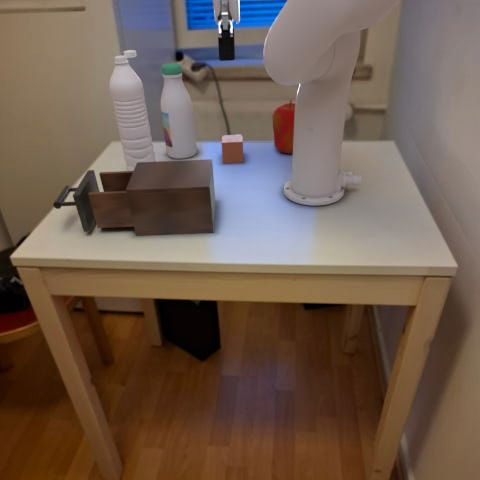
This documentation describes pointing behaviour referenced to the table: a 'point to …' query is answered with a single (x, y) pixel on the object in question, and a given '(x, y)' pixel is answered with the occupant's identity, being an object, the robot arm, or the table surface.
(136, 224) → the cabinet
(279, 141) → the apple
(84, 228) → the drawer
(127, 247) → the table surface
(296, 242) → the table surface
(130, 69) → the water bottle
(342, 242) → the table surface
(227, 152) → the block
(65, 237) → the table surface
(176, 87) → the milk bottle
